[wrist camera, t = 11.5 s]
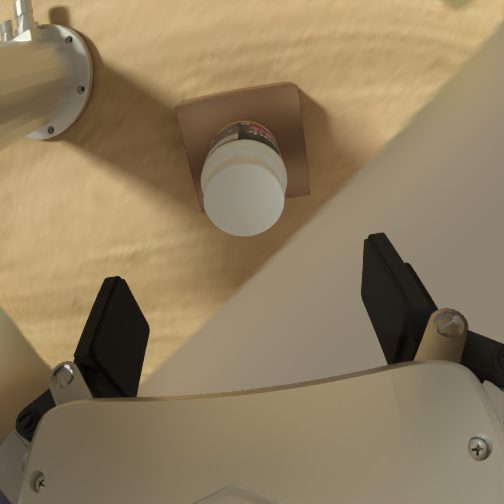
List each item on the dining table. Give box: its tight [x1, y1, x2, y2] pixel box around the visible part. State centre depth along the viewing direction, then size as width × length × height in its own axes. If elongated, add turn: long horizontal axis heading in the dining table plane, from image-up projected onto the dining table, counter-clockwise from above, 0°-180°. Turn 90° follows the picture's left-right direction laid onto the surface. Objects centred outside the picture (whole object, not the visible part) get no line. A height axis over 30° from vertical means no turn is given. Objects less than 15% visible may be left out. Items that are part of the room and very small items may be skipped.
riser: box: [175, 82, 310, 212], centre depth 28 cm, size 10×10×4 cm
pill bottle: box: [201, 121, 287, 236], centre depth 22 cm, size 6×6×10 cm
